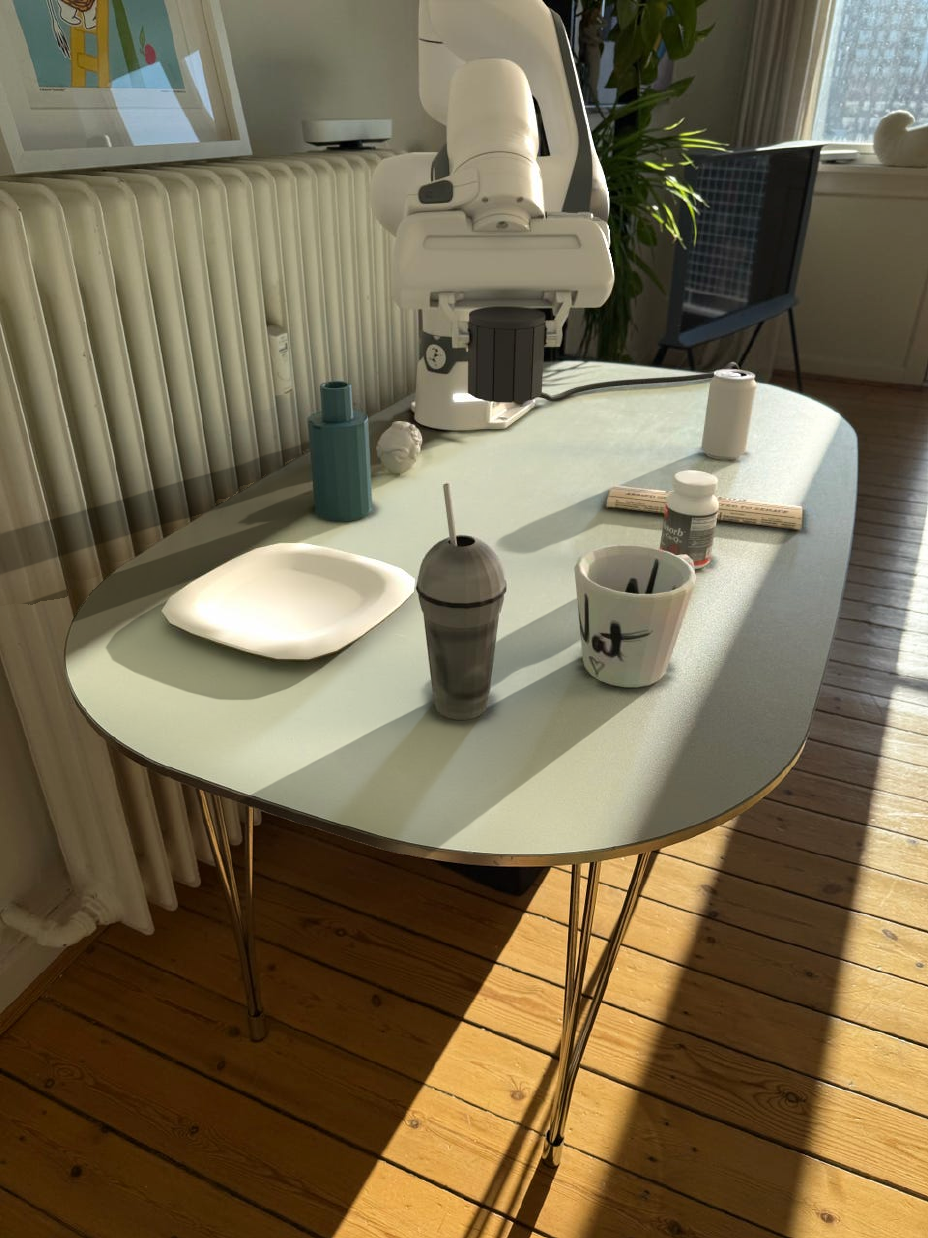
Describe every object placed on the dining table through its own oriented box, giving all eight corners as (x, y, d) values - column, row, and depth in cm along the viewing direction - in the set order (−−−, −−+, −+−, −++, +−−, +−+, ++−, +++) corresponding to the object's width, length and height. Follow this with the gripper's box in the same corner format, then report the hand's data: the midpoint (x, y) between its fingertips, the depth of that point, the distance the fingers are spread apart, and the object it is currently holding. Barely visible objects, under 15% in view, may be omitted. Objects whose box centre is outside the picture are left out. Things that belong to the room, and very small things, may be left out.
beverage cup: (495, 735, 74) (501, 507, 64) (409, 724, 75) (402, 499, 65) (509, 686, 80) (516, 472, 70) (429, 677, 81) (425, 465, 71)
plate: (313, 687, 79) (312, 671, 78) (136, 627, 88) (133, 611, 88) (438, 588, 96) (438, 574, 95) (278, 545, 105) (277, 532, 104)
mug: (544, 665, 83) (549, 567, 78) (640, 610, 92) (650, 520, 87) (637, 712, 76) (649, 610, 71) (730, 648, 85) (747, 553, 80)
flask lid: (495, 378, 87) (496, 303, 84) (555, 389, 84) (559, 312, 81) (453, 394, 83) (453, 315, 79) (516, 407, 79) (518, 325, 76)
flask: (341, 495, 119) (333, 373, 111) (383, 507, 115) (378, 383, 107) (303, 512, 114) (291, 386, 106) (345, 526, 110) (337, 396, 102)
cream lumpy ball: (432, 469, 127) (431, 421, 124) (400, 483, 122) (398, 434, 119) (399, 460, 130) (398, 413, 127) (367, 474, 126) (364, 425, 122)
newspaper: (606, 509, 115) (607, 496, 114) (614, 490, 121) (615, 477, 120) (799, 533, 109) (802, 519, 108) (798, 511, 115) (801, 498, 114)
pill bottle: (649, 553, 104) (658, 471, 99) (691, 546, 105) (703, 465, 100) (676, 574, 99) (687, 489, 94) (720, 566, 101) (733, 483, 96)
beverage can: (753, 458, 132) (767, 376, 126) (717, 463, 130) (729, 380, 124) (727, 445, 137) (739, 365, 131) (691, 450, 135) (702, 369, 129)
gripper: (600, 235, 88) (613, 361, 84) (390, 236, 86) (394, 364, 83) (614, 188, 82) (629, 322, 78) (389, 189, 80) (393, 324, 77)
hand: (506, 344), depth 81 cm, fingers closed on flask lid, 7 cm apart
